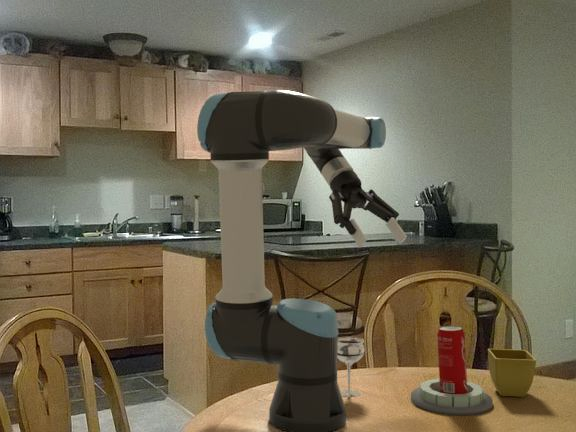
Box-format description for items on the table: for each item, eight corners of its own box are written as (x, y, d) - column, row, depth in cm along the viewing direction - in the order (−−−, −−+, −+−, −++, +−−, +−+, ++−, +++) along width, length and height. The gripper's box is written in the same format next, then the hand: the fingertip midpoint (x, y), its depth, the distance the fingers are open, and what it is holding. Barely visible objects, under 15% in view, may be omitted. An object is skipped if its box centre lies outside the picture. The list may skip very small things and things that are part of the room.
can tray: (423, 416, 134) (423, 401, 134) (402, 389, 151) (402, 376, 151) (505, 414, 136) (505, 399, 135) (475, 388, 153) (475, 375, 152)
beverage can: (468, 401, 140) (469, 331, 139) (436, 399, 141) (437, 329, 141) (466, 393, 146) (467, 325, 145) (436, 391, 147) (437, 323, 146)
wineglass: (369, 396, 147) (370, 342, 146) (341, 399, 144) (342, 344, 144) (355, 387, 153) (355, 335, 153) (328, 390, 151) (328, 338, 150)
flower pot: (525, 388, 153) (526, 349, 152) (536, 400, 144) (537, 359, 144) (486, 387, 154) (487, 348, 153) (494, 399, 145) (495, 358, 144)
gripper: (369, 189, 181) (410, 248, 170) (297, 189, 166) (337, 255, 155) (383, 169, 176) (427, 229, 165) (310, 168, 161) (353, 234, 150)
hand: (383, 242), depth 160 cm, fingers open, 13 cm apart
